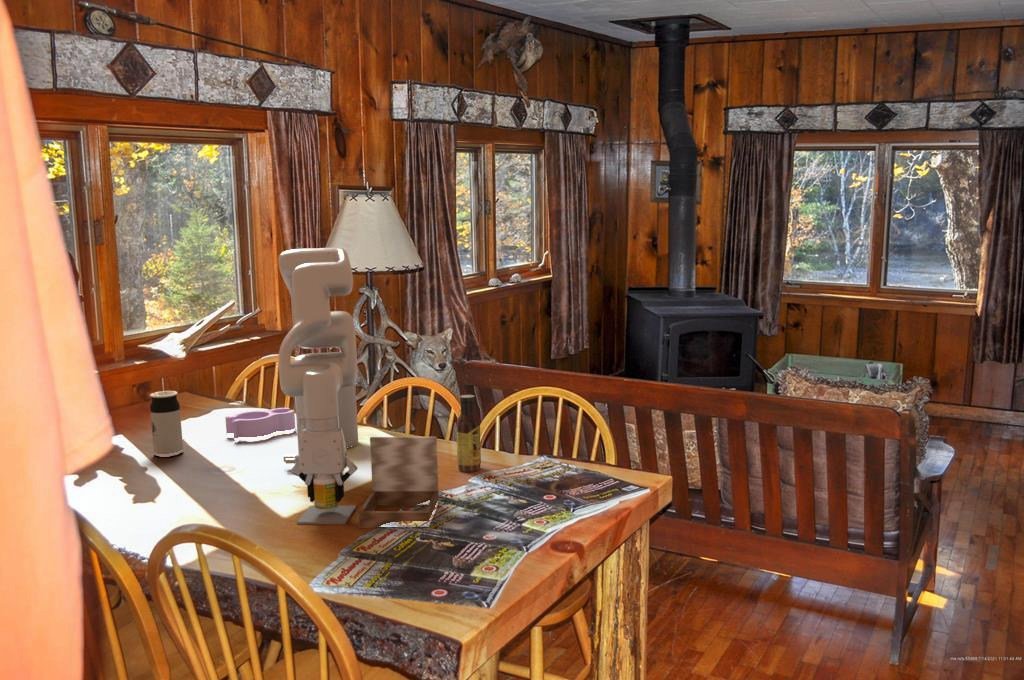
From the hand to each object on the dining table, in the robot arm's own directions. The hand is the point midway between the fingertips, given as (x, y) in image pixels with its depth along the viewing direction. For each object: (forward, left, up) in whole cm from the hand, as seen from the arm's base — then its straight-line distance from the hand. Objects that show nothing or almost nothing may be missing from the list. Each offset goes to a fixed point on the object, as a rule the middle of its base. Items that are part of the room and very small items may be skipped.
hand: (326, 499), depth 216 cm
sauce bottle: (+29, +36, -4) cm, 46 cm away
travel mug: (-60, +52, -4) cm, 79 cm away
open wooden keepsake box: (+17, 0, -4) cm, 18 cm away
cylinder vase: (-13, +61, -4) cm, 62 cm away
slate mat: (0, 0, -4) cm, 4 cm away
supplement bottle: (0, 0, -2) cm, 2 cm away
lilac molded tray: (-39, +73, -4) cm, 83 cm away
